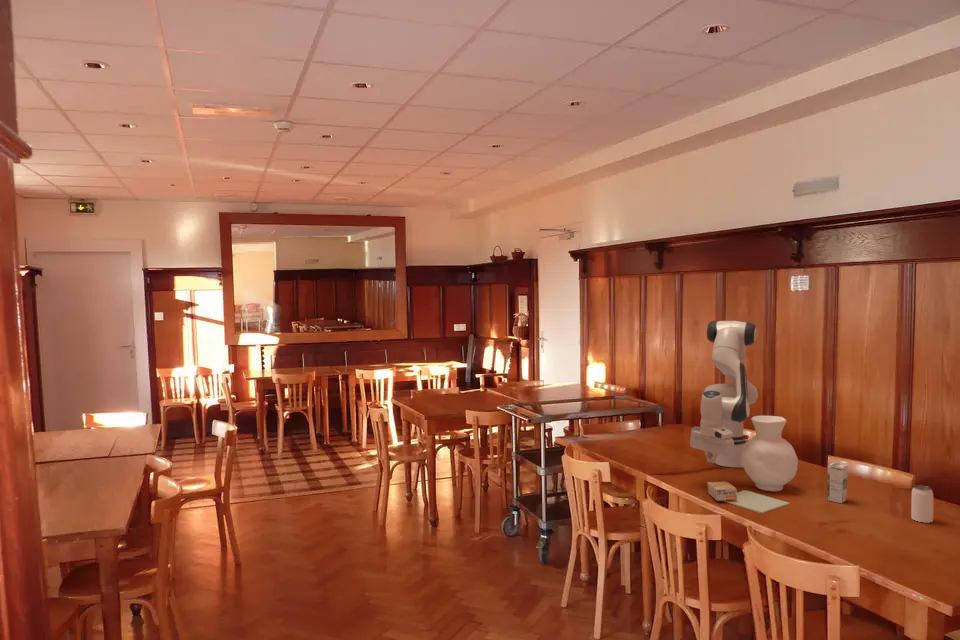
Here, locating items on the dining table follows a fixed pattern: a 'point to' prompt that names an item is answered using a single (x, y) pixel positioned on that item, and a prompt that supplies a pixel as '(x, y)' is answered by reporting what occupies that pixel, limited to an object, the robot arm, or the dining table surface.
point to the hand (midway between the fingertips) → (711, 462)
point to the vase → (769, 454)
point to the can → (922, 504)
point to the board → (756, 502)
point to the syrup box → (837, 482)
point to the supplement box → (722, 491)
